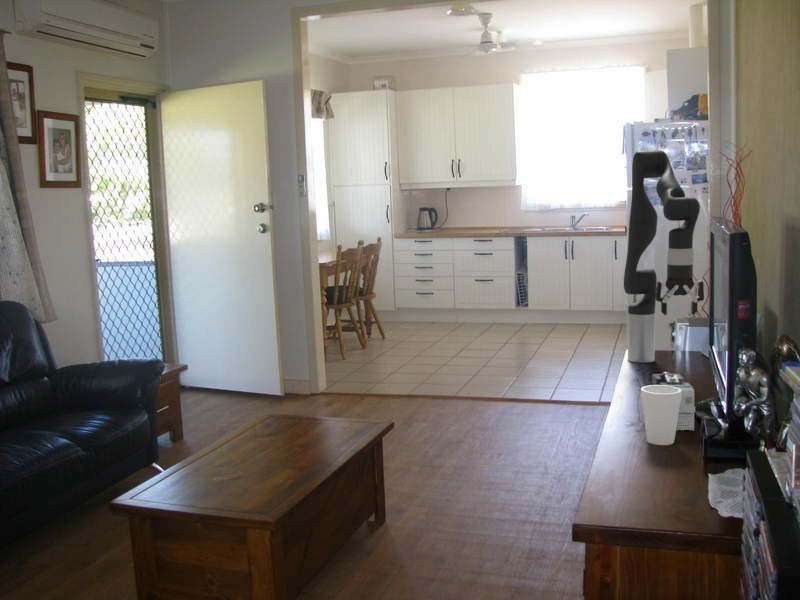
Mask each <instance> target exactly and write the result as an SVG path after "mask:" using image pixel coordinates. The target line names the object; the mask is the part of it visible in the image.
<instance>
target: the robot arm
mask: <svg viewBox="0 0 800 600" xmlns="http://www.w3.org/2000/svg"><path fill="white" fill-rule="evenodd" d="M631 167H632V168H631V185H632V186H631V201H630V202H631V204H630V212H629V213H630V214H629V222H628V240H627V242H628V244H627V254H626V261H625V268H624V275H623V290H624V292H625V293H626V294H627V295H643V297H641V298H640V299H639V300H638V301H635V302H632V303H630V304H629V305H628V307H627V321H628V322H627V361H628V362H632V363H640V364H641V363H643V364H644V363H653V362H655V357H656V356H655V353H656V352H655V350H656V349H655V348H656V346H655V343H656V342H655V340H656V339H655V338H656V332H655V331H656V329H655V328H656V301H657V302H659V303H660V312H661V313H662V315H664V316H667V315H668V303H667V301H668V300H670V298H671V297H672V296H684V297H685V296H686V295H687V296H688V297H689V298H690V300H691V305H690V307H691V309H690V310H691V311H690V313H691V315H694V316H695V315H696V313H697V312H698V303H699V302H700V301H701V302H703V301H704V300H705V289H704V287H705V286H704V282H703V281H702V280H700V279H699V280H698V281H694V279H693V278H694V276H693V275H694V274H693V272H694V252H693V249H694V248H693V239H694V237H693V236H694V233H695V228H696V224H697V221H698V218H699V216H700V215H699V214H700V211H701V205H700V202H699V200H698V199H697V198H695V197H692V196H690V197H689V196H686V193H685V192H684V190H683V188H682V187H681V185H680V184H679V182H678V180H677V178H676V176H675V173H674V171H673V168H672V164H671V161H670V159H669V156H668V155H667V153H666V152H665V151H663V150H659V149H657V150H656V149H654V150H652V149H651V150H638V151H636V152H634V155H633V157H632V166H631ZM657 178H659V179H658V181H657V182H656V193H657V196H658V197H659V199H660V200H661V201H662V207H663V208H662V210H663V211H662V212H663V216H664V218H666V219H667V220H668V221H671V222H675V221H676V222H679V221H684V222H683V224H682V225H681V226H679V227H676V228H672V229H670V230H669V232H668V249H667V257H666V258H667V262H666V267H667V269H666V281H659V280H657V272H656V271H655V269H654V268H653V267H652V268H651V267H648V268H647V267H643V268H641V267H639V268H638V264H639V261H640V259H641V257H642V255H644V252H645V251H646V250H647V248H649V246H651V244H652V242H653V240H654V239H655V237H656V236H657V230H658V229H657V227H658V213H657V210H656V209H655V207H654V205H653V204H652V202H651V201H650V199H649V197H648V195H647V193H646V189H645V184H644V183H645V182H644V181H645V179H657ZM664 287H666V289H667V290H666V291H665V292H664V295H663V296H662V297H661V295H662V294H661V293H662V289H664ZM693 287H695V288H696V289H697V296H696V295H694V293H693V292H692V291H691V290H692V289H693Z"/></svg>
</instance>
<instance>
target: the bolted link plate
mask: <svg viewBox="0 0 800 600" xmlns="http://www.w3.org/2000/svg"><path fill="white" fill-rule="evenodd" d="M674 374H675V373H669V374H668V375H665V383H666V384H667V385H679V380H678V378H677V375H674Z"/></svg>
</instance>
